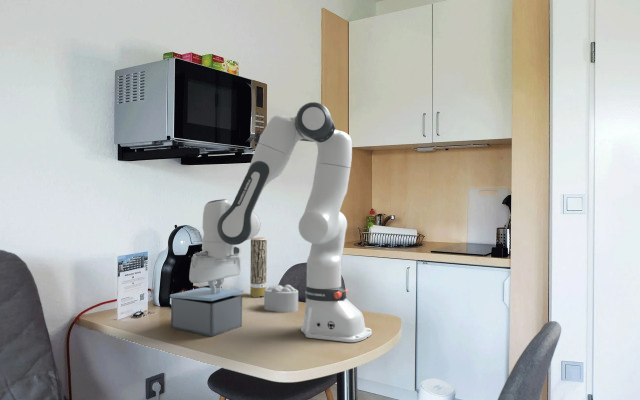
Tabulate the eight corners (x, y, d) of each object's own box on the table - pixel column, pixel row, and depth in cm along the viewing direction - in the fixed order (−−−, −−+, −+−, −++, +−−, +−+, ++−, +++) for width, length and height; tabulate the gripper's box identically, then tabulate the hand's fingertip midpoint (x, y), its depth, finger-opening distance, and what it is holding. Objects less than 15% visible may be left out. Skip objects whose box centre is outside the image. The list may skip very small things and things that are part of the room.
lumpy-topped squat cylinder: (277, 304, 184) (278, 282, 184) (304, 308, 176) (304, 286, 176) (260, 309, 175) (260, 286, 175) (287, 314, 168) (288, 290, 168)
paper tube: (247, 296, 196) (247, 238, 196) (255, 293, 203) (255, 237, 202) (261, 298, 194) (261, 239, 194) (269, 295, 200) (269, 237, 200)
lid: (243, 292, 151) (243, 290, 151) (211, 301, 139) (211, 298, 139) (203, 289, 160) (203, 287, 160) (169, 297, 148) (169, 294, 148)
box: (241, 326, 151) (242, 296, 151) (211, 336, 139) (211, 304, 139) (202, 318, 160) (203, 290, 160) (171, 328, 148) (171, 297, 148)
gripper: (199, 253, 137) (199, 300, 137) (244, 247, 154) (244, 289, 154) (184, 252, 140) (184, 297, 140) (230, 246, 158) (229, 287, 158)
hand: (215, 293), depth 147 cm, fingers closed, pressing on lid
